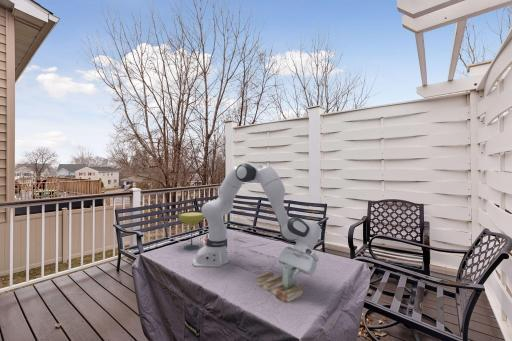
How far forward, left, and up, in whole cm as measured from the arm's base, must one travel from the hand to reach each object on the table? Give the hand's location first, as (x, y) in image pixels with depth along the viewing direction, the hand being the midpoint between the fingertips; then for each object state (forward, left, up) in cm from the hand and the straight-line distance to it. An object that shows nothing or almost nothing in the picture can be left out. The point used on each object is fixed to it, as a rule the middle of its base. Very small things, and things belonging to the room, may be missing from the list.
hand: (288, 276), depth 117 cm
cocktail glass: (-47, +77, -9) cm, 91 cm away
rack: (-3, +6, -9) cm, 11 cm away
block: (+1, 0, -5) cm, 5 cm away
